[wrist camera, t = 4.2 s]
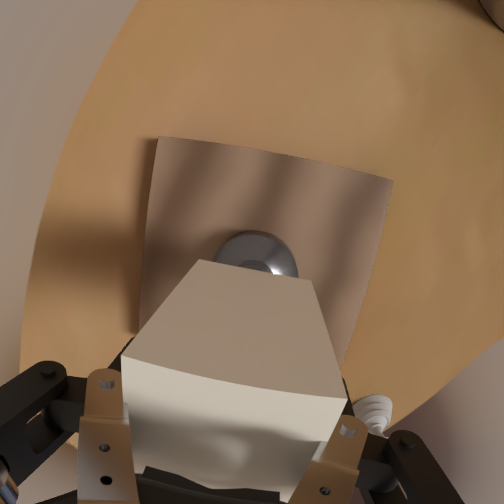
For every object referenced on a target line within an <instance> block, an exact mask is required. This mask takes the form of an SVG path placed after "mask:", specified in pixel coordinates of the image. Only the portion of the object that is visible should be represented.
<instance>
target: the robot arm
mask: <svg viewBox="0 0 504 504" xmlns="http://www.w3.org/2000/svg"><path fill="white" fill-rule="evenodd" d="M479 1H480V2H481V4H482V6H483V8H484V9H485V11H486V12H487V13H488V15H489V16H490V17H491V18H492V20H493V21H494V22H495V23H496V24H497V25H498V26H499V27H500V28H501V29H502V30H503V31H504V0H479ZM135 337H136V336H135ZM135 337H133V338H131V339H130V341H129V342H128V343H127V344H126V346H125V347H124V348H123V349H122V352H120V353H119V354H118V356H117V357H116V358H115V359H114V361H113V362H112V363H111V364H110V366H109V367H108V368H104V369H98V370H95V371H93V372H92V373H90V374H89V376H88V378H80V377H73V376H67V373H66V369H65V367H64V366H63V365H62V364H60V363H58V362H55V361H41V362H38V363H36V364H35V365H33V366H32V367H30V368H29V369H27V370H25V371H24V372H22V373H21V374H19V375H18V376H16V377H15V378H13V379H12V380H10V381H9V382H7V383H6V384H4V385H2V386H1V387H0V504H16V501H17V499H18V496H19V492H18V488H17V487H18V486H19V485H20V484H21V483H22V482H23V481H24V480H25V479H26V478H27V477H28V476H29V475H30V474H32V473H33V472H34V471H35V470H36V469H37V468H38V467H39V466H40V465H41V464H42V463H43V462H44V461H45V460H46V459H47V458H49V457H50V455H52V454H53V453H54V452H55V451H56V450H57V449H58V448H59V447H60V446H61V445H62V444H63V443H64V442H65V441H67V440H68V439H69V438H70V437H71V436H72V435H73V434H74V433H75V432H78V433H79V439H78V465H77V471H78V472H77V490H74V491H71V492H69V493H66V494H63V495H60V496H57V497H54V498H51V499H49V500H45V501H43V502H39V503H36V504H349V501H350V498H351V495H352V493H353V490H354V487H358V488H359V490H360V492H361V495H362V497H363V499H364V502H365V504H464V502H463V501H462V499H461V498H460V496H459V494H458V493H457V491H456V490H455V488H454V487H453V485H452V484H451V482H450V481H449V479H448V478H447V476H446V475H445V473H444V472H443V470H442V469H441V467H440V466H439V464H438V463H437V461H436V460H435V458H434V457H433V455H432V454H431V453H430V451H429V450H428V448H427V447H426V445H425V444H424V442H423V441H422V439H421V438H420V437H419V436H418V435H416V434H415V433H413V432H410V431H406V430H398V431H395V432H393V433H392V434H391V436H390V437H389V438H385V437H381V436H377V435H374V434H371V433H369V432H368V428H367V426H366V425H365V423H364V422H363V421H361V420H360V419H358V418H356V417H355V414H354V411H353V407H352V404H351V401H350V397H349V396H348V395H349V394H348V390H347V387H346V384H345V380H344V379H343V378H342V380H343V384H344V387H345V391H346V394H347V398H348V400H347V402H346V404H345V407H344V409H343V411H342V413H341V415H340V418H339V420H338V422H337V424H336V426H335V428H334V430H333V432H332V434H331V436H330V438H329V440H328V441H321V442H320V444H319V446H318V448H317V450H316V452H315V454H314V456H313V458H312V460H311V462H310V464H309V465H308V467H307V469H306V471H305V473H304V475H303V476H302V478H301V480H300V482H299V484H298V485H297V487H296V489H295V491H294V492H293V494H292V496H291V498H290V499H289V501H288V503H286V502H283V501H280V492H277V491H267V490H258V489H251V488H235V489H211V488H208V487H205V486H203V485H200V484H198V483H196V482H193V481H191V480H189V479H187V478H185V477H182V476H180V475H178V474H174V473H171V472H167V471H163V470H160V469H156V468H153V467H149V466H146V467H145V469H144V472H143V474H141V473H135V471H134V463H133V455H132V446H131V436H130V425H129V414H128V403H126V402H123V392H122V372H121V354H122V353H123V352H124V351H125V349H126V348H127V347H128V346H129V344H130V343H131V342H132V340H133V339H134V338H135ZM40 411H41V413H40V414H39V415H37V416H36V417H35V418H34V419H32V420H31V421H30V422H29V423H28V424H26V423H27V422H28V421H29V420H30V419H31V418H32V417H33V416H35V415H36V414H37V413H38V412H40ZM399 482H400V484H401V486H402V488H403V490H404V492H405V493H406V496H407V499H406V497H405V495H404V493H403V491H402V490H401V488H400V486H399Z"/></svg>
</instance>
